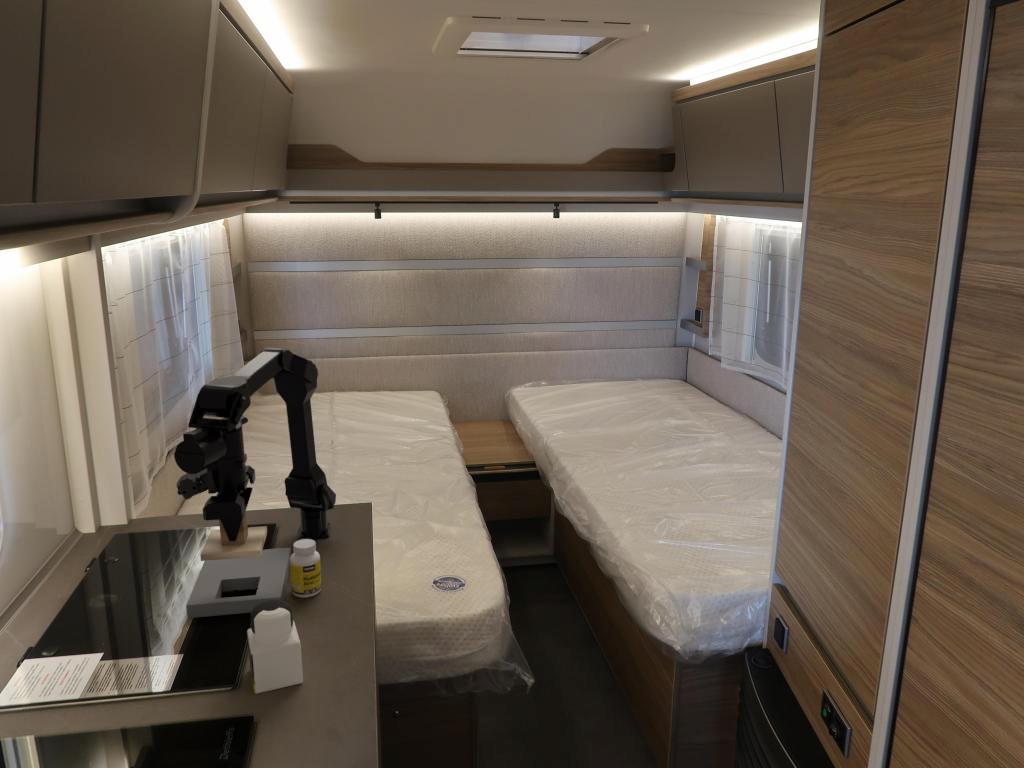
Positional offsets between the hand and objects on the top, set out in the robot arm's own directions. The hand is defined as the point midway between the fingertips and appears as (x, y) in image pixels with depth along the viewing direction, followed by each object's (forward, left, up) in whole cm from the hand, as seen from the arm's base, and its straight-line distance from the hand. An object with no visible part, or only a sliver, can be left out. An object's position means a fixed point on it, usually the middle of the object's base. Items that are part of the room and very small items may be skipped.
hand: (234, 535), depth 140 cm
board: (-4, 0, -13) cm, 13 cm away
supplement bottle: (0, +12, -13) cm, 17 cm away
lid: (0, 0, -2) cm, 2 cm away
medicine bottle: (+26, +9, -13) cm, 30 cm away
